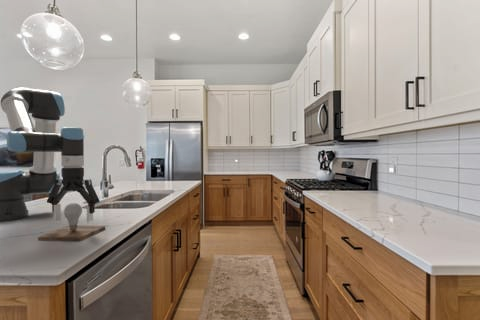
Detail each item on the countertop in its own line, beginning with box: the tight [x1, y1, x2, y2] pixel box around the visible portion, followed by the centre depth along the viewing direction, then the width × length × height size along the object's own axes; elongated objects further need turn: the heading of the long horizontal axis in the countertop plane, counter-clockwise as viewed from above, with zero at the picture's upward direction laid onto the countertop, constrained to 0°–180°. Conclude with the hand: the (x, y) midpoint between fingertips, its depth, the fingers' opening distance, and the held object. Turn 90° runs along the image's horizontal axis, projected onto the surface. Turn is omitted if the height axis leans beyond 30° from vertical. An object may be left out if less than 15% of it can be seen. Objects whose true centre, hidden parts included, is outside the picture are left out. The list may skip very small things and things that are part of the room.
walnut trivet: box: [37, 225, 106, 242], centre depth 108 cm, size 16×16×1 cm
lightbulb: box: [63, 202, 83, 231], centre depth 107 cm, size 6×6×11 cm
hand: (73, 221), depth 108 cm, fingers open, 13 cm apart
